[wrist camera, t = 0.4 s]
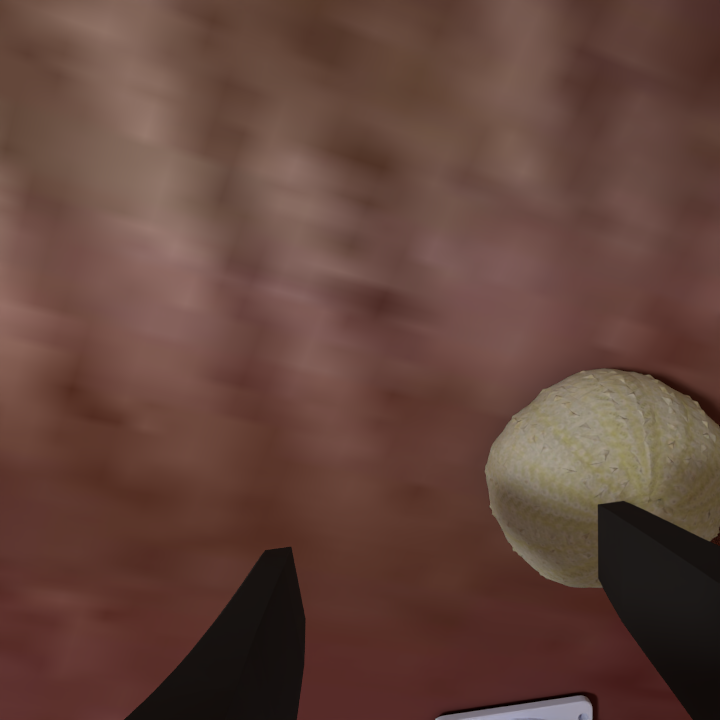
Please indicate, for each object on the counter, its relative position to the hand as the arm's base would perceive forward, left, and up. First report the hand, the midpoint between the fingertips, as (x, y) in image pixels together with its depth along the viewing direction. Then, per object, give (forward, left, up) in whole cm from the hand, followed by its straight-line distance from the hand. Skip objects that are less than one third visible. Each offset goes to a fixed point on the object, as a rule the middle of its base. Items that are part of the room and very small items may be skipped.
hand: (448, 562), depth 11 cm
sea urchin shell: (-3, -8, -10) cm, 13 cm away
